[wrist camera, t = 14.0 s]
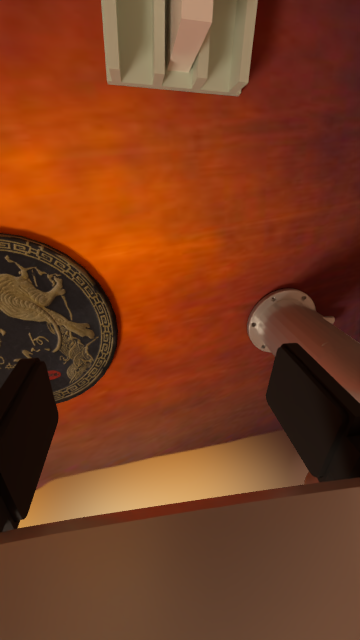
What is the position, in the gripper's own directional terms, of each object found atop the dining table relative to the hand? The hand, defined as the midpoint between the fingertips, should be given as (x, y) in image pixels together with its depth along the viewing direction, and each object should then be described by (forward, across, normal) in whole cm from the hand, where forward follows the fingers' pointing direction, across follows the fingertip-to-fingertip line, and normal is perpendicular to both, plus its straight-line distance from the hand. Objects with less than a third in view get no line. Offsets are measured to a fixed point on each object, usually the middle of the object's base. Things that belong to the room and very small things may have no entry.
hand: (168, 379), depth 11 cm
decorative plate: (+31, +20, +14) cm, 39 cm away
